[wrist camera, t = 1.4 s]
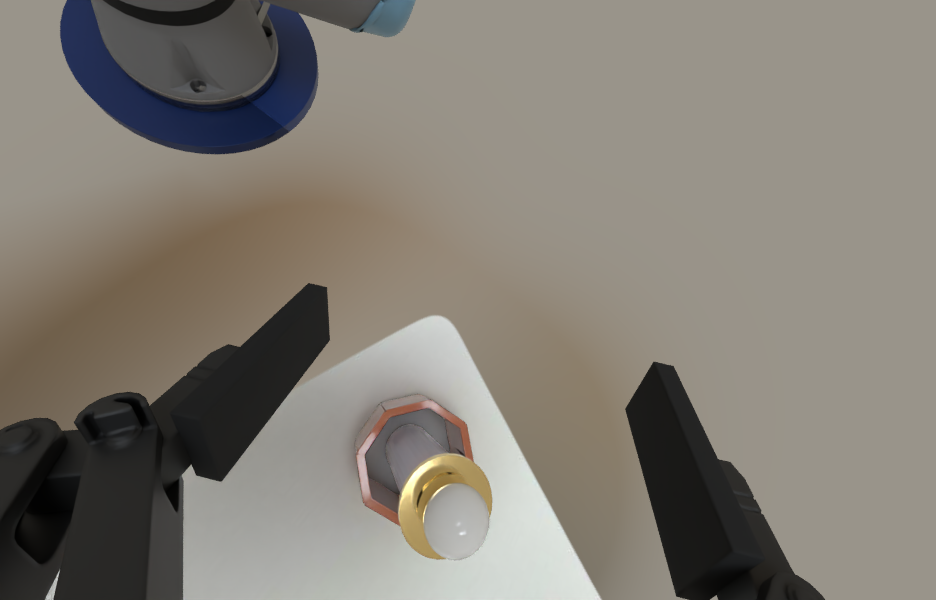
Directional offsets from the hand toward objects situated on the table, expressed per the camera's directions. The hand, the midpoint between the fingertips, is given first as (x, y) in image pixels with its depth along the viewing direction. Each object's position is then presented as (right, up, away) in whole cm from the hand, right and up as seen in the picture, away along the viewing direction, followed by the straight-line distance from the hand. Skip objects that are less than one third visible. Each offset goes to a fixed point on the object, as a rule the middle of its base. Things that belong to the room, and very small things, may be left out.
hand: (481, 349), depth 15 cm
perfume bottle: (-7, -13, +22) cm, 27 cm away
